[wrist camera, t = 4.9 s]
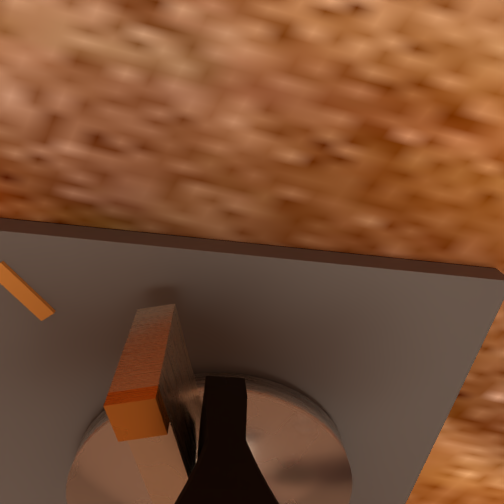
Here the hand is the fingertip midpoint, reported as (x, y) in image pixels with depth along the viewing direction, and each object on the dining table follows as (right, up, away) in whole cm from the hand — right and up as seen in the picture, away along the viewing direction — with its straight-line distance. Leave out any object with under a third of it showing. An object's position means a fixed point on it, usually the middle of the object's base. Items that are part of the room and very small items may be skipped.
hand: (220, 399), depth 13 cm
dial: (-1, -4, +4) cm, 6 cm away
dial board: (-1, -3, +6) cm, 7 cm away
